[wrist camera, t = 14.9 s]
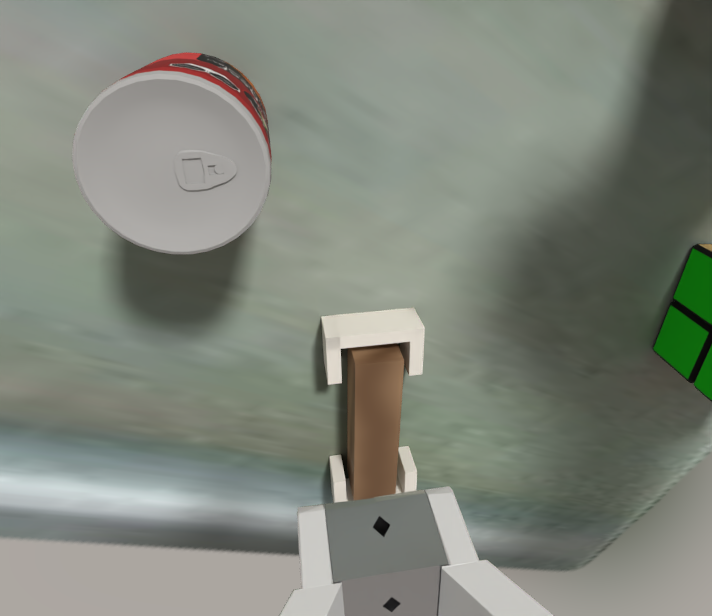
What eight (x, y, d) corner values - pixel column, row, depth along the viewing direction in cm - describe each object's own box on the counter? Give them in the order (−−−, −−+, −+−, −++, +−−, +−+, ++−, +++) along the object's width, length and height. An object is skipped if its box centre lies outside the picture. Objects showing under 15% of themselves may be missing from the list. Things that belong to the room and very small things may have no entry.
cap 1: (414, 307, 40) (424, 328, 38) (412, 351, 42) (422, 374, 40) (321, 316, 39) (325, 338, 37) (323, 361, 41) (328, 384, 39)
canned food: (286, 161, 34) (297, 223, 24) (166, 203, 34) (129, 280, 24) (237, 30, 30) (227, 41, 20) (101, 77, 30) (28, 111, 20)
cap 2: (331, 488, 48) (335, 515, 46) (329, 456, 46) (333, 482, 44) (407, 478, 49) (415, 504, 47) (408, 445, 47) (417, 471, 45)
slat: (392, 330, 41) (404, 360, 38) (385, 463, 48) (395, 498, 45) (347, 334, 41) (355, 364, 37) (346, 467, 48) (353, 503, 44)
